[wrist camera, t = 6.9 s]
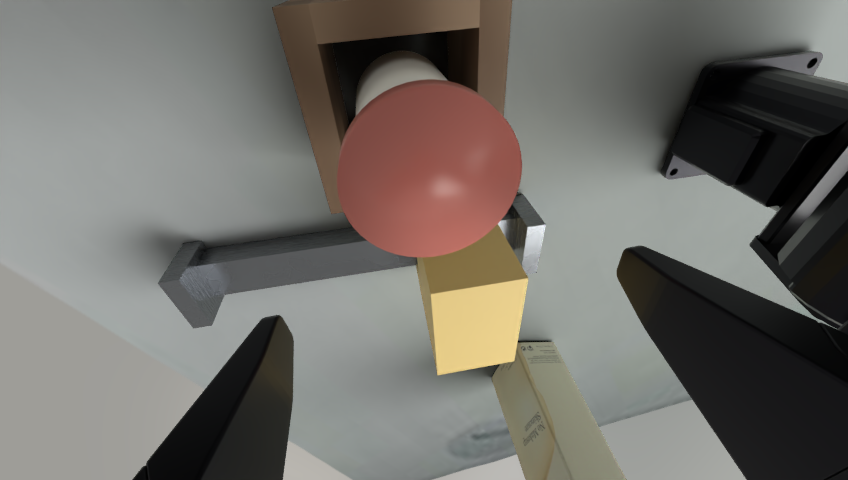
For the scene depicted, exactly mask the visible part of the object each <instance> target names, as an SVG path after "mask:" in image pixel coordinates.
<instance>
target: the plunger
mask: <svg viewBox="0 0 848 480" xmlns="http://www.w3.org/2000/svg"><path fill="white" fill-rule="evenodd" d="M521 172H522V160H521V151H520V147H519V143H518V141H517V138H516V136H515V133H514V131H513V130H512V128H511V126H510V125H509V123H508V122H507V121H506V119H505V118H504V117H503V116H502V115H501V114H500V113H499V112H498V111H497V110H496V109H495V108H494V107H493V106H492V105H491V104H490V103H489V102H488V101H487V100H486V99H485V98H484V97H482V96H481V95H480V94H478V93H477V92H475V91H473V90H472V89H470V88H468V87H465V86H463V85H461V84H458V83H454V82H450V81H448V80H447V79H446V78H445V77H444V75H443V74H442V73H441V72H440V71H439V70H438V68H437V67H436V66H435V65H434V64H433V63H432V62H431V61H430V60H428V59H427V58H425V57H424V56H422V55H420V54H417V53H414V52H411V51H394V52H389V53H386V54H384V55H382V56H380V57H378V58H377V59H375V60H374V61H373V62H372V63H371V64H370V65H369V66H368V67H367V68H366V69H365V71H364V72H363V74H362V76H361V78H360V80H359V83H358V86H357V91H356V117H355V118H354V119H353V121H352V123H351V124H350V126H349V127H348V129H347V131H346V134H345V136H344V138H343V141H342V145H341V149H340V154H339V162H338V172H337V190H338V196H339V201H340V203H341V206H342V209H343V211H344V213H345V215H346V217H347V219H348V221H349V222H350V223H351V225H352V226H353V228H354V229H355V230H356V231H357V232H358V233H359V234H360V235H361V236H362V237H363V238H365V239H366V240H367V241H368V242H370V243H372V244H373V245H375V246H376V247H378V248H381V249H383V250H385V251H387V252H390V253H393V254H397V255H402V256H407V257H434V256H440V255H445V254H449V253H452V252H455V251H458V250H460V249H463V248H465V247H467V246H469V245H471V244H473V243H475V242H476V241H478V240H479V239H481V238H482V237H484V236H485V235H486V234H487V233H489V232H490V231H491V230H492V229H493V228H494V227H495V226H496V225H497V224H498V223H499V222H500V221H501V219H502V218H503V217H504V216H505V214H506V213H507V211H508V210H509V208H510V207H511V205H512V203H513V201H514V199H515V196H516V194H517V191H518V188H519V184H520V179H521Z"/></svg>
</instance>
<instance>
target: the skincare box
mask: <svg viewBox="0 0 848 480" xmlns="http://www.w3.org/2000/svg"><path fill="white" fill-rule="evenodd" d="M492 381H493V384H494V387H495V390H496V393H497V396H498V399H499V402H500V405H501V408H502V411H503V414H504V417H505V420H506V423H507V426H508V429H509V432H510V435H511V438H512V441H513V444H514V446H515V449H516V452H517V455H518V458H519V461H520V464H521V467H522V470H523V473H524V476H525V479H526V480H627V479H626V478H625V476H624V474H623V472H622V470H621V468H620V466H619V465H618V463H617V461H616V459H615V457H614V455H613V453H612V451H611V449H610V448H609V446H608V444H607V442H606V440H605V438H604V436H603V434H602V432H601V430H600V429H599V427H598V425H597V423H596V421H595V419H594V417H593V416H592V414H591V412H590V410H589V408H588V406H587V404H586V402H585V400H584V398H583V397H582V395H581V393H580V391H579V389H578V387H577V385H576V383H575V382H574V380H573V378H572V376H571V374H570V372H569V370H568V368H567V366H566V365H565V363H564V361H563V359H562V357H561V355H560V353H559V351H558V349H557V347H556V346H555V344H554V342H522V343H517V348H516V354H515V360H514V361H513V362H507V363H502V364H500V365H499V367H498V368H497V370H496V371H495V373H494V375H493V377H492Z"/></svg>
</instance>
